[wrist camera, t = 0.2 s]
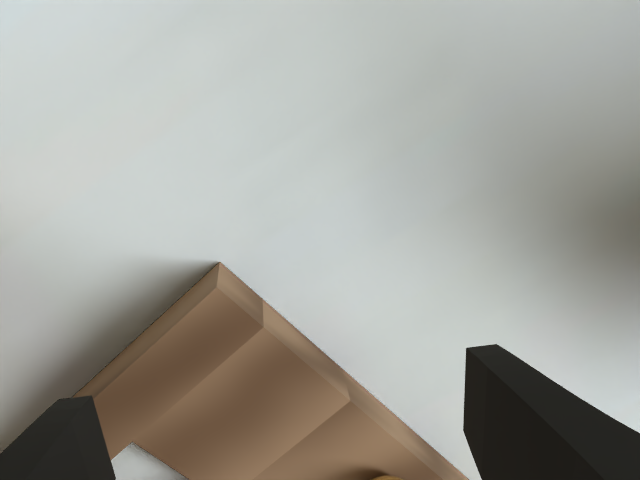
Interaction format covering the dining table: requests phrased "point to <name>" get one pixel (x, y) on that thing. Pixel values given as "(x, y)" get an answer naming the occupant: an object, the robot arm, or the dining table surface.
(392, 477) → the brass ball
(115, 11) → the dining table surface
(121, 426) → the walnut board
